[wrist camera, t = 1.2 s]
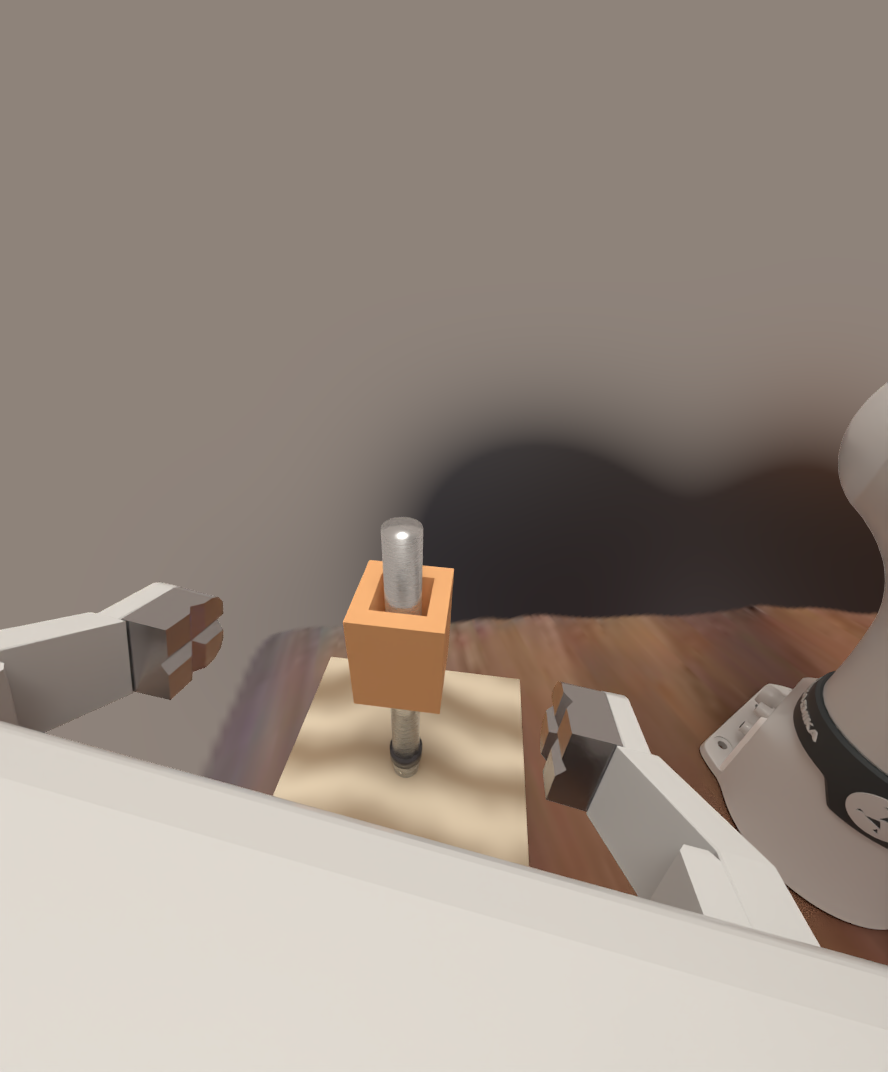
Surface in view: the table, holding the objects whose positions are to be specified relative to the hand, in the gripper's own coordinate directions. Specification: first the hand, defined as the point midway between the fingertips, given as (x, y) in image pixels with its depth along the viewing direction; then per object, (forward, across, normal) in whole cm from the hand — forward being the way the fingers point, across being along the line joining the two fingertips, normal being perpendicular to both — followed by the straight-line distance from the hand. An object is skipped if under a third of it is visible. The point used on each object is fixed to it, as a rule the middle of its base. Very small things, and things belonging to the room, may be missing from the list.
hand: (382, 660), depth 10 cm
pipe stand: (+21, 0, +29) cm, 36 cm away
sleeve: (+17, +1, +14) cm, 22 cm away
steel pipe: (+20, 0, +27) cm, 34 cm away
